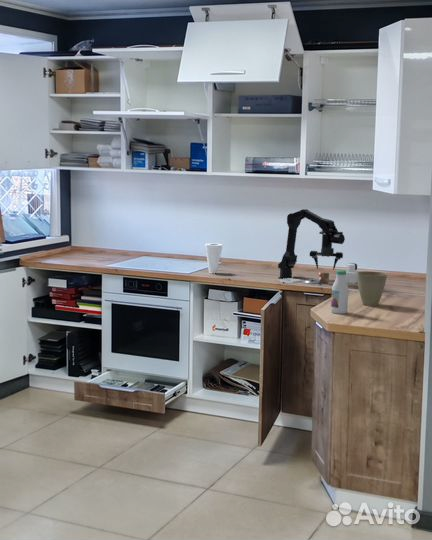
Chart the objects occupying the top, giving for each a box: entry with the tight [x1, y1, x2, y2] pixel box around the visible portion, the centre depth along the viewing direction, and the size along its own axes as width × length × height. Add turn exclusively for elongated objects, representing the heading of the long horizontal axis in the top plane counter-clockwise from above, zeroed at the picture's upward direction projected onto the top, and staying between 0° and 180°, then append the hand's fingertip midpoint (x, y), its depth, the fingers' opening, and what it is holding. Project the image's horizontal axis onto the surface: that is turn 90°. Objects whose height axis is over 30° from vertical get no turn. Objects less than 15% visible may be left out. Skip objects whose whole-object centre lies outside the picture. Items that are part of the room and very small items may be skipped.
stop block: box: [321, 272, 330, 285], centre depth 447 cm, size 4×4×6 cm
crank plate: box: [295, 279, 333, 287], centre depth 448 cm, size 16×14×4 cm
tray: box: [279, 277, 303, 284], centre depth 452 cm, size 9×9×2 cm
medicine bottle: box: [345, 262, 359, 284], centre depth 456 cm, size 7×7×12 cm
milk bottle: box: [330, 269, 349, 315], centre depth 366 cm, size 8×8×20 cm
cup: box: [204, 243, 223, 274], centre depth 478 cm, size 11×11×18 cm
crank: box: [303, 272, 323, 285], centre depth 450 cm, size 13×9×5 cm
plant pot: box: [357, 271, 388, 307], centre depth 390 cm, size 15×15×16 cm
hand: (325, 269), depth 446 cm, fingers open, 9 cm apart
